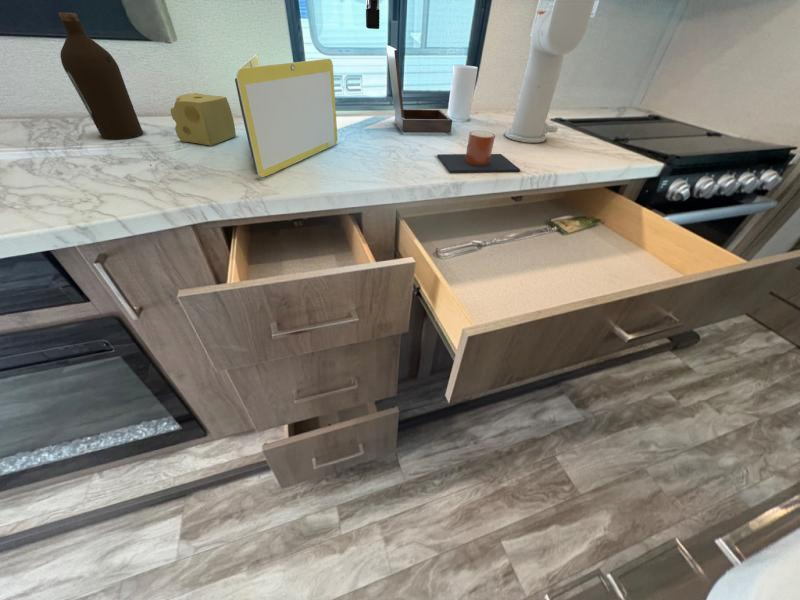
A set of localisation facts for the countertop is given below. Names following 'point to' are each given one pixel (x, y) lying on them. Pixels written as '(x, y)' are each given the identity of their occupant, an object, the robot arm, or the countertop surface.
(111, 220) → the countertop surface
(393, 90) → the lid
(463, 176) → the countertop surface
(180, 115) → the cheese
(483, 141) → the orange cup
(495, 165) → the mat
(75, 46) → the olive oil
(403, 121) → the brown wooden box
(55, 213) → the countertop surface
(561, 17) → the robot arm
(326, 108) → the tablet
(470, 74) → the white cylinder
